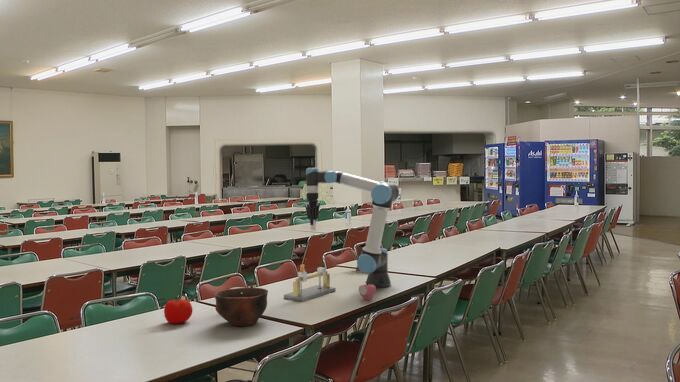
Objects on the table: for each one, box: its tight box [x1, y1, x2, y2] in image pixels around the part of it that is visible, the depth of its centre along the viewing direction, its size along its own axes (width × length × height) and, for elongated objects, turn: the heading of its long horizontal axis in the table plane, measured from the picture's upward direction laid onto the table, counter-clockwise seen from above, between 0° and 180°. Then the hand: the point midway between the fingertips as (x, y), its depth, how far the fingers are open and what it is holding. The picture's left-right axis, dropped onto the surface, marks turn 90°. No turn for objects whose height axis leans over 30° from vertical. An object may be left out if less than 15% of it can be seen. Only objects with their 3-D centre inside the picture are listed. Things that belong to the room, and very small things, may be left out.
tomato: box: [163, 297, 194, 325], centre depth 263 cm, size 12×13×12 cm
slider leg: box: [297, 264, 308, 293], centre depth 308 cm, size 4×3×16 cm
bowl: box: [213, 287, 269, 327], centre depth 260 cm, size 25×25×15 cm
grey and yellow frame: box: [283, 266, 337, 302], centre depth 316 cm, size 14×30×14 cm, turn 144°
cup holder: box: [346, 234, 366, 272], centre depth 392 cm, size 18×24×25 cm
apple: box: [358, 280, 377, 301], centre depth 301 cm, size 10×9×10 cm
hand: (313, 230), depth 342 cm, fingers closed
